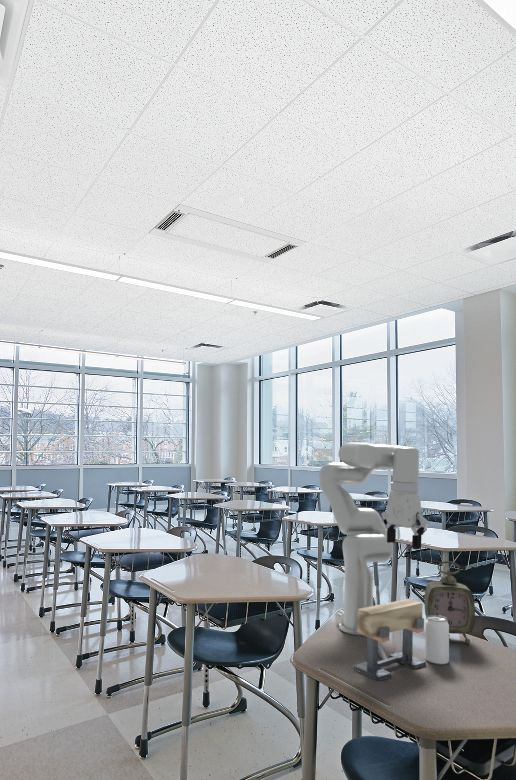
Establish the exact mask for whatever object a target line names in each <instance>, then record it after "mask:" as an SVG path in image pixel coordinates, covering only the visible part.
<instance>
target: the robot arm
mask: <svg viewBox="0 0 516 780" xmlns="http://www.w3.org/2000/svg"><path fill="white" fill-rule="evenodd" d="M338 457H339V460H340V461H341V462H329V463H326V464H325V463H324V465H322V466H321V467H320V470H319V473H318V474H319V476H318V477H319V484H320V488H321V491H322V493H323V494H324V496H325V498H326V499H327V501H328V503H329V505H330V507H331V510H332V514H333V516H334V519H335V522H336V524H337V527H338V530H339V531H340V532H341V534H343V535H346V537H344V539H343V541H342V545H341V546H342V548H341V549H342V555H343V562H344V593H343V594H344V599H343V600H344V601H343V610H342V609H341V610H339V612H337V614H336V617H337V618H339V619H341V622H339V623H338V624H339V625H338V627H339V630H340V631H341V632H344V633H346V634H349V635H353V636H354V635H355V636H363V635H362V634H359V633H357V617H358V609H361V608H366V607H371V606H374V605H373V604H374V603H373V602H374V601H373V599H374V597H373V595H374V576H373V573H372V570H371V569H370V568H369V565H368V564H367V563H380V562H381V563H382V562H387V561H390V559H391V558H392V557H393V554H394V548H393V543H396V541H397V540H396V539H397V537H396V536H397V535H396V534H397V529H396V526H397V527H402V528H407V529H409V528H410V529H411V531H412V533H413V534H412V537H411V538H412V539H411V541H412V542H411V548H412V550H421V548H422V536H424V535H425V532H427V529H428V527H429V525H430V522H429V520H428V519H426V518H425V517H424V516H423V515H422V502H421V496H420V494H419V475H420V473H419V470H420V469H419V468H420V467H419V465H420V451H419V450H418V448H417V447H411V446H402V445H394V444H393V445H391V444H373V443H372V442H354V441H353V442H351V441H350V442H346V443H344V444H343V445H341V446H340V447H339V450H338ZM374 469H377V470H379V469H380V470H392V482H391V483H390V486H391V488H392V489H391V490H390V491H389V494H388V500H387V506H386V510H385V511H383V512H381V515H380V513H379V512H378V511H377V510H376V509H373V508H371V507H358V506H357V505H356V503H355V501H354V498H353V497H352V496H351V494H350V493H349V491H347V490H346V489H345V488H343V487H342V486H351V487H352V486H354V487H355V486H356V487H357V486H363V485H364V484H365V482H366V481H367V480H368V479H369V477H370V475H371V474H372V473H373V472H374Z"/></svg>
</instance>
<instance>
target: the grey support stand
mask: <svg viewBox="0 0 516 780" xmlns="http://www.w3.org/2000/svg"><path fill="white" fill-rule="evenodd" d="M424 632H425V618H424V617H422V618H417V619H415V620H414V627H410V628H406V629H402V642H401V643H402V644H401V645H402V647H401V649H402V651H399V652H398V651H397V652H395V653H390V654H389V655H388V657H387V658H388V659H385V660H382V659H381V660H379V652H378V641H379V643H385V642H390V627H388V626H384V627H380V628H379V636H375V637H369V636H366V635H364V634H362V635H361V636H363V637H364V636H365V637H366V638H367V639H366V640H367V641H366V642H367V643H366V644H367V645H366V646H367V647H366V651H367V652H366V661H364V662H360V663H357V664H354V665H353V670H354V669H356V670H355V671H357V670H358V671H357V672H359V671H360V672H359V673H361V672H362V673H361V674H363V673H364V674H363V675H365V674H366V675H365V676H367V675H368V676H367V677H369V676H371V677H372V678H371V677H370V678H371V679H373V678H375V679H374V680H375V681H378V682H380V680H381V681H384V680H387V679H389V677H390V678H392V672H390V671H387V670H385V669H384V667H387V666H388V665H390V666H391V665H394V664H397V663H399V662H400V664H401V663H402V664H401V665H404V666H406V665H407V666H406V667H408V666H409V667H408V668H411V669H413V670H417V669H419V668H422V667H426V665H427V662H426V661H425V660H423V659H420V658H418V657H415V656H414V655H413V647H414V646H413V640H414V639H413V634H414V633H416V634H419V633H424ZM357 633H359V632H357ZM359 634H361V633H359ZM386 678H387V679H386ZM383 679H384V680H383Z"/></svg>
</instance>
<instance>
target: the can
mask: <svg viewBox="0 0 516 780" xmlns="http://www.w3.org/2000/svg"><path fill="white" fill-rule="evenodd" d="M449 635H450V633H449V624H448V622H447V618H445V617H443V616H438V615H429V616H427V618H426V621H425V659H426V661H427V662H429V663H430V664H434V665H439V666H441V665H442V666H443V665H447V664H448V663H449V662H450V637H449Z"/></svg>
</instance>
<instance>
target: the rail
mask: <svg viewBox="0 0 516 780" xmlns="http://www.w3.org/2000/svg"><path fill="white" fill-rule="evenodd" d="M417 618H423V602H421V601H417V600H414V599H411V598H406V599H405V598H404V599H401V600H395V601H391V602H387V603H385V602H384V603H382V604H377V605H373V606H371V607H366V608H361V609H358V617H357V632H359V633H361V634H364V635H366V636H365V637H367V636H369V637H375V636H379V628H380V627H384V626H388V627H390V633H394V632H399V631H403V629H406V628H410V627H414V620H415V619H417ZM390 633H389V634H390ZM364 635H363V636H364Z"/></svg>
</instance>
